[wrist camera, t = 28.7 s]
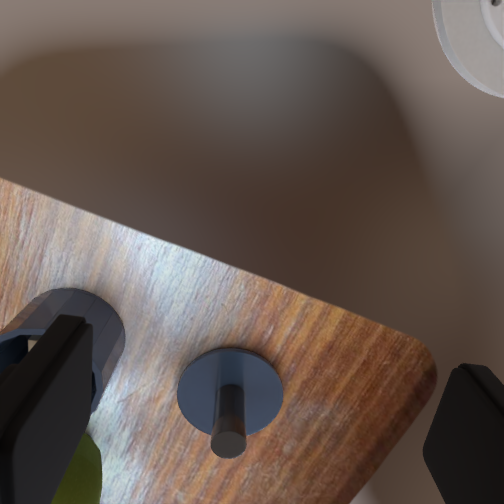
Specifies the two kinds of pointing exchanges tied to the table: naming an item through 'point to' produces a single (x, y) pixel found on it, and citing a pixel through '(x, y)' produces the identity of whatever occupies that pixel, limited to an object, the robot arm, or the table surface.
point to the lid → (230, 397)
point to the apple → (82, 476)
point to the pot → (77, 304)
